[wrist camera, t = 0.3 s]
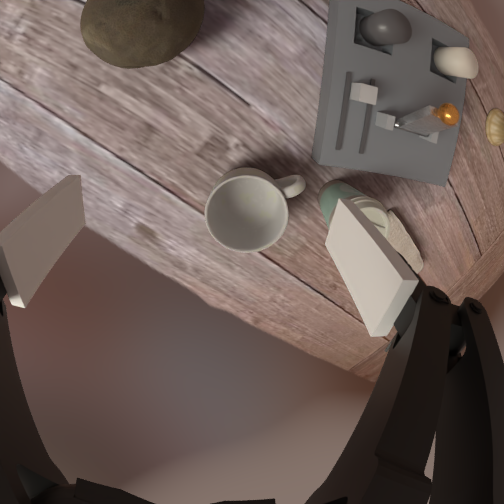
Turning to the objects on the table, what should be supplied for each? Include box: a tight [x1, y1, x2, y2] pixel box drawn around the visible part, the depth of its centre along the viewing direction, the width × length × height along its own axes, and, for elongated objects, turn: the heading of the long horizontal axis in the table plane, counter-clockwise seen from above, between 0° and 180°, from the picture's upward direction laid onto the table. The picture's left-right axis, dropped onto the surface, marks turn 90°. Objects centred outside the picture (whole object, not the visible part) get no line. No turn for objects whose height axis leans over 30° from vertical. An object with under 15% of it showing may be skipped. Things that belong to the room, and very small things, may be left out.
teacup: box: [205, 167, 306, 253], centre depth 39 cm, size 14×11×8 cm
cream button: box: [434, 47, 478, 79], centre depth 25 cm, size 5×5×6 cm
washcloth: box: [387, 210, 424, 274], centre depth 50 cm, size 12×18×3 cm, turn 46°
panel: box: [311, 0, 469, 187], centre depth 31 cm, size 28×24×7 cm
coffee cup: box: [318, 180, 390, 240], centre depth 39 cm, size 9×8×12 cm
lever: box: [394, 103, 459, 137], centre depth 27 cm, size 3×6×10 cm, turn 86°
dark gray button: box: [359, 9, 412, 46], centre depth 23 cm, size 5×5×6 cm
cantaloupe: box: [80, 0, 204, 69], centre depth 21 cm, size 14×14×15 cm
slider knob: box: [350, 83, 378, 105], centre depth 30 cm, size 2×2×3 cm
